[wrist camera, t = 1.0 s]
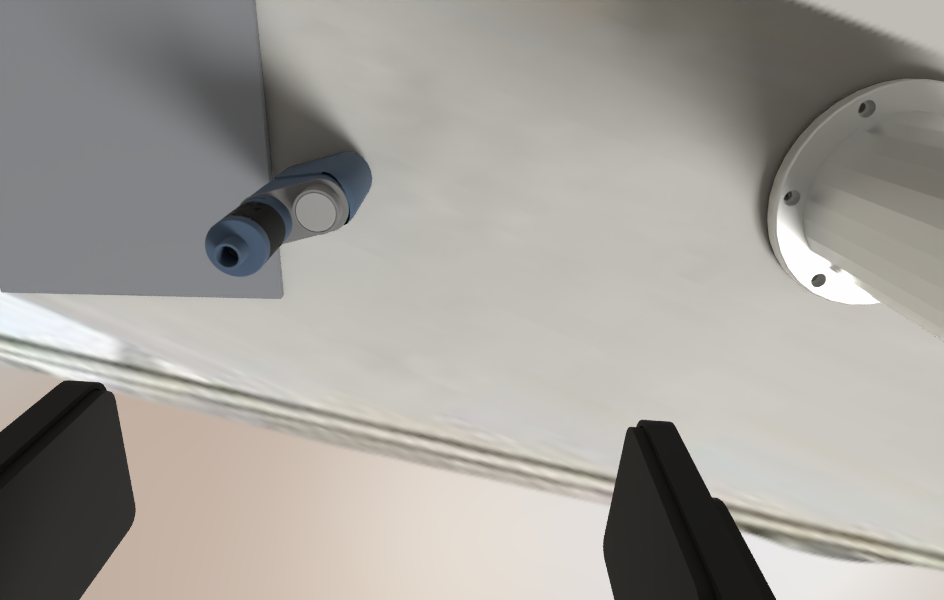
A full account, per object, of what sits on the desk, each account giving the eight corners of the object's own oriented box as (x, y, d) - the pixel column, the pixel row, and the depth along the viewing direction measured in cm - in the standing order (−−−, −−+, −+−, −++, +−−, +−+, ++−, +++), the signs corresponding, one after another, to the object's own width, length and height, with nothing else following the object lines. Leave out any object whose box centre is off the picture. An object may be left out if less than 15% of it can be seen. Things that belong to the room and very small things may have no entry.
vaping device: (273, 168, 33) (180, 232, 22) (365, 144, 32) (317, 197, 21) (290, 212, 34) (209, 295, 23) (379, 190, 33) (341, 263, 22)
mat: (254, -6, 29) (250, -7, 29) (283, 294, 36) (280, 298, 35) (-81, -19, 29) (-92, -21, 28) (8, 288, 35) (1, 292, 35)
